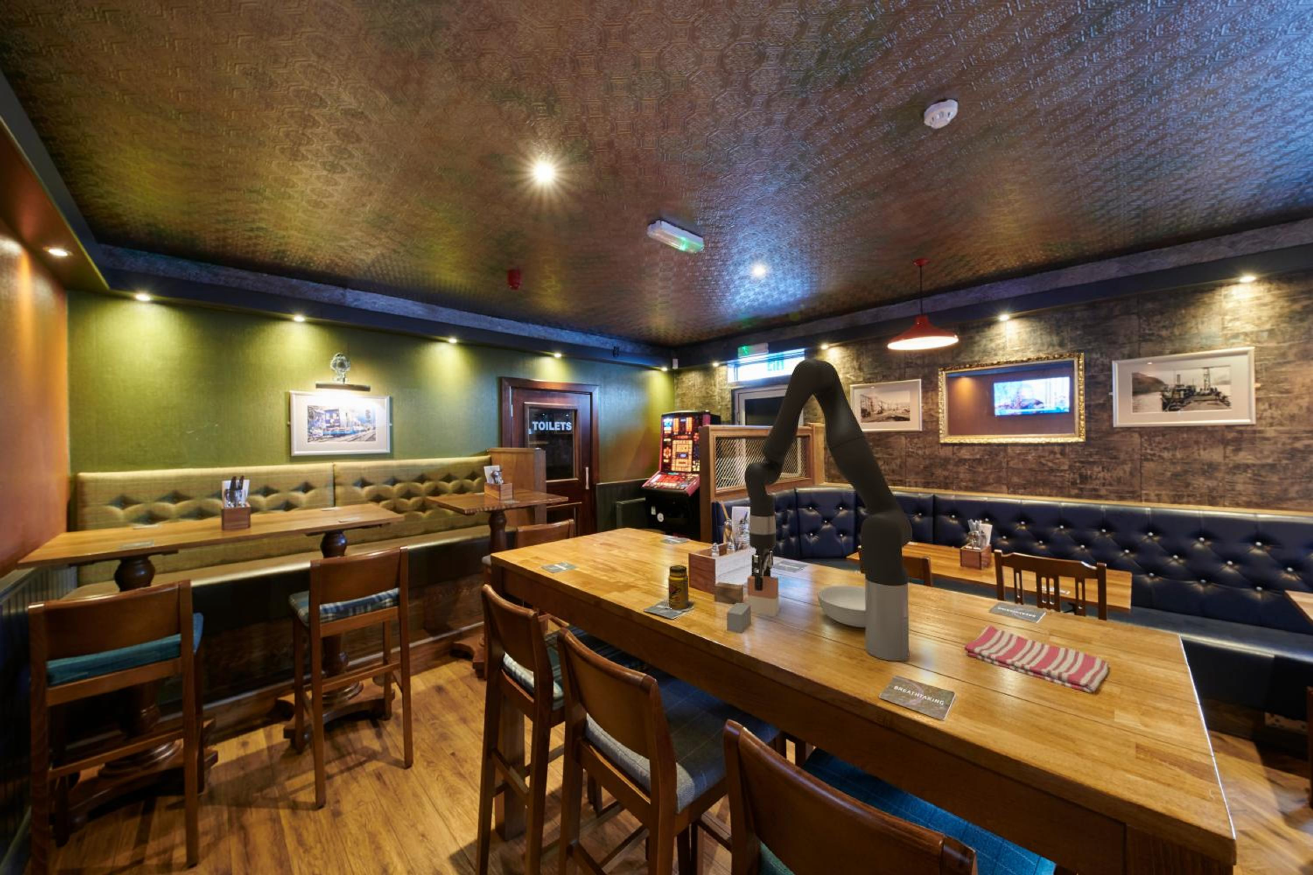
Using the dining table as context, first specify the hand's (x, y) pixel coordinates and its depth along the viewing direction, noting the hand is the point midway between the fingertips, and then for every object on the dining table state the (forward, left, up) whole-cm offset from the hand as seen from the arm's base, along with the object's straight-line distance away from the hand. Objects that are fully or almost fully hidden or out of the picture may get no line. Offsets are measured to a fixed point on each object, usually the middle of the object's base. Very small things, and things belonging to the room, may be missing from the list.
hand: (763, 585), depth 139 cm
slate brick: (+3, +13, -8) cm, 15 cm away
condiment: (+24, +6, -8) cm, 26 cm away
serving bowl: (-25, -5, -8) cm, 27 cm away
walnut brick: (+12, -4, -8) cm, 15 cm away
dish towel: (-63, +2, -8) cm, 63 cm away
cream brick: (0, 0, -8) cm, 8 cm away
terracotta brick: (0, 0, -3) cm, 3 cm away
